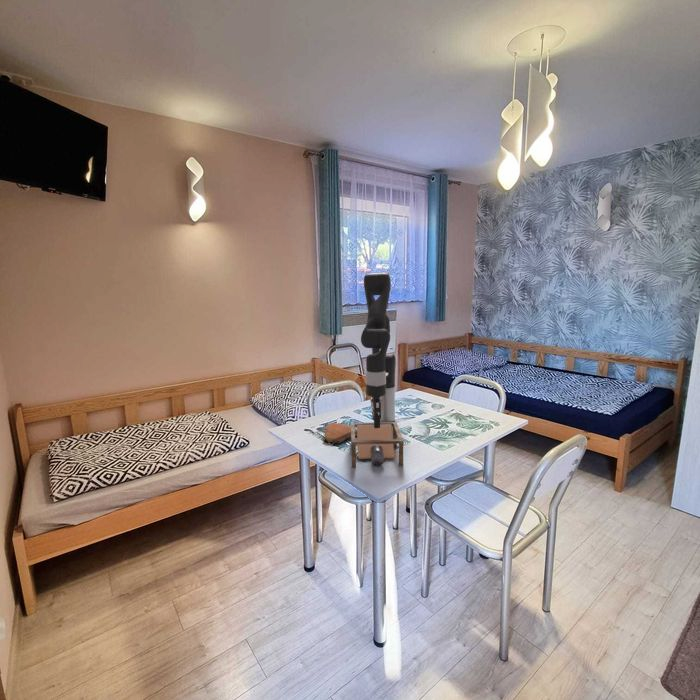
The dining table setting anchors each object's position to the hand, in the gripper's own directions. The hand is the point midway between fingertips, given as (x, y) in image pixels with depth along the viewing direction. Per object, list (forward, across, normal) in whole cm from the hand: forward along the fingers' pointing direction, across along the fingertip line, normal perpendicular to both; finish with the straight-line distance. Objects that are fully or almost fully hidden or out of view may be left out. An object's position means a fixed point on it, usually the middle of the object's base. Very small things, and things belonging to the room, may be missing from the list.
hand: (376, 423), depth 145 cm
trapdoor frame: (+15, -4, 0) cm, 15 cm away
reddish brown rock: (+15, -23, -16) cm, 32 cm away
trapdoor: (+10, -6, 0) cm, 11 cm away
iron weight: (+10, 0, 0) cm, 10 cm away
